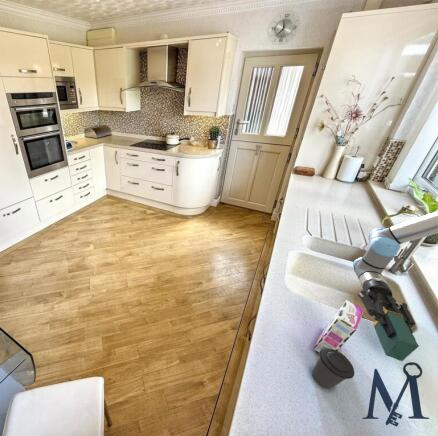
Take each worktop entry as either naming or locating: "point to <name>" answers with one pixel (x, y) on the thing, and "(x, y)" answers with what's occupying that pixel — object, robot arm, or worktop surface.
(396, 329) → the carton
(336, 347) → the candy bar box
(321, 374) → the coffee cup
